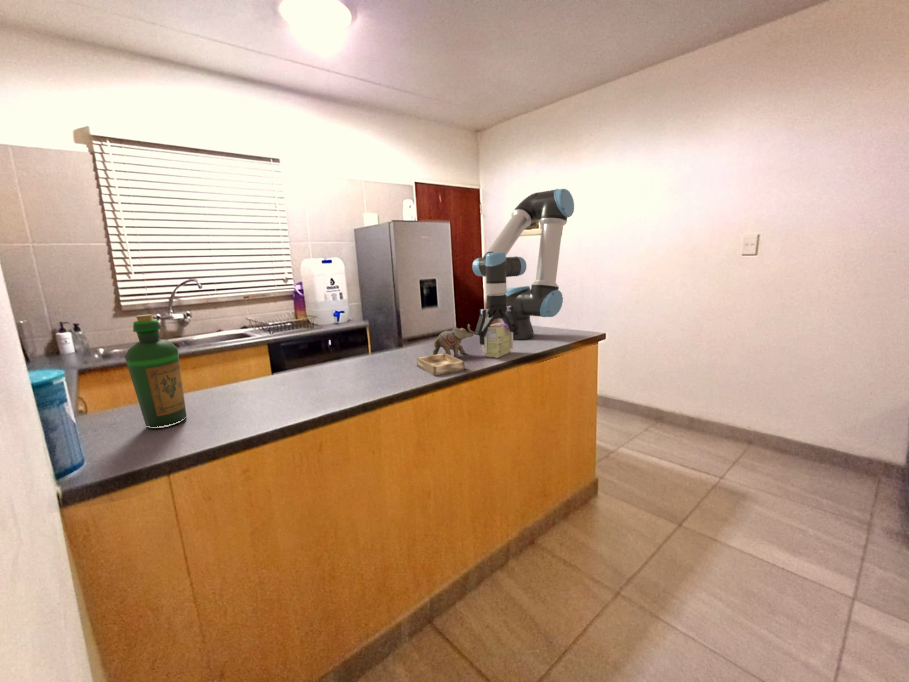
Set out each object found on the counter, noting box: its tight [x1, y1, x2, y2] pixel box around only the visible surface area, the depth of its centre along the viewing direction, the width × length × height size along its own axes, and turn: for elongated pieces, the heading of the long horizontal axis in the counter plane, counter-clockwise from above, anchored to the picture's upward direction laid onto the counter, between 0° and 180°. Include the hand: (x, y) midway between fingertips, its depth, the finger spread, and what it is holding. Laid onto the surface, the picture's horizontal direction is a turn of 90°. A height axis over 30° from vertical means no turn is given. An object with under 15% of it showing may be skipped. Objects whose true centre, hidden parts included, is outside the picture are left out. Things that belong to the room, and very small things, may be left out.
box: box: [484, 322, 511, 359], centre depth 154 cm, size 10×6×12 cm, turn 145°
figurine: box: [432, 323, 475, 359], centre depth 154 cm, size 10×14×15 cm, turn 88°
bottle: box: [124, 313, 187, 427], centre depth 99 cm, size 11×11×28 cm
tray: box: [416, 352, 466, 377], centre depth 140 cm, size 12×15×3 cm
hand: (497, 350), depth 155 cm, fingers closed on box, 11 cm apart
